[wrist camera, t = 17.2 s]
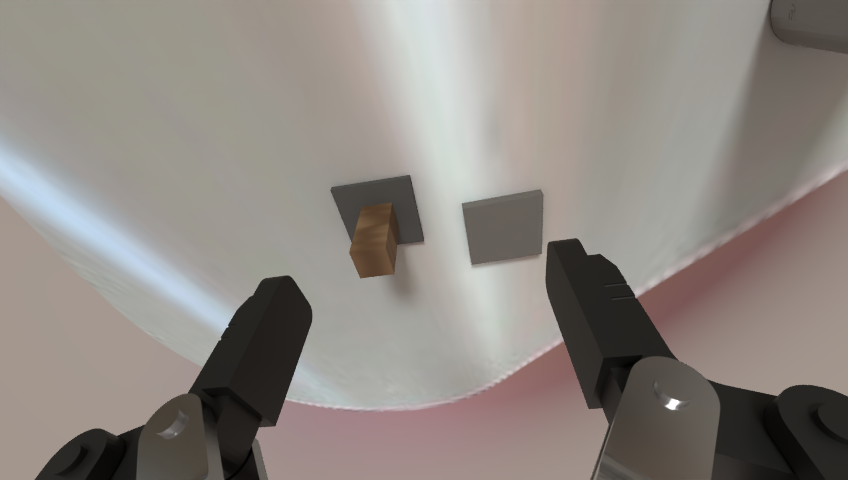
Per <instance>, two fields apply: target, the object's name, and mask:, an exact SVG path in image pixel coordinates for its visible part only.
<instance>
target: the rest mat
mask: <svg viewBox="0 0 848 480" xmlns="http://www.w3.org/2000/svg"><path fill="white" fill-rule="evenodd" d="M331 193H332V195H333V198H334V200H335V202H336V205H337V207H338V210H339V212H340V215H341V217H342V220H343V222H344V225H345V227H346V229H347V232H348V234H349V237H350V239H351V242H352V241H353V237H354V233H355V230H356V226H357V222H358V219H359V215H360V211H361V208H362V207H365V206H371V205H378V204H385V203H391V202H392V205H393V208H394V212H395V215H396V219H397V222H398V226H399V231H398V241H397V245H398V244H406V243H413V242H420V241H424V237H423V233H422V228H421V224H420V219H419V215H418V210H417V206H416V201H415V196H414V192H413V187H412V183H411V178H410V175H407V176H401V177H395V178H388V179H382V180H376V181H369V182H363V183H357V184H350V185H344V186H338V187H332V188H331Z"/></svg>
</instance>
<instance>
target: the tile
mask: <svg viewBox="0 0 848 480" xmlns="http://www.w3.org/2000/svg"><path fill="white" fill-rule="evenodd" d="M462 207H463V213H464V219H465V225H466V232H467V238H468V244H469V250H470V256H471V262H472V265H473V264H480V263H486V262H492V261H499V260H505V259H512V258H518V257H525V256H531V255H537V254H542V226H543V193H542V191H541V190H535V191H529V192H524V193H518V194H512V195H507V196H501V197H495V198H490V199H484V200H479V201H473V202H467V203H462Z"/></svg>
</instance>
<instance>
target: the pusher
mask: <svg viewBox="0 0 848 480" xmlns="http://www.w3.org/2000/svg"><path fill="white" fill-rule="evenodd" d="M398 231H399V226H398V222H397V219H396V215H395V212H394V208H393V205H392V202H391V203H385V204H378V205H371V206H365V207H362V208H361V211H360V215H359V219H358V222H357V226H356V230H355V233H354V237H353V241H352V244H351V248H350V252H349V253H350V255H351V258H352V260H353V262H354V265H355V267H356V269H357V272H358V274H359V276H360V278H366V277H374V276H382V275H390V274H394V271H395V261H396V251H397V241H398Z"/></svg>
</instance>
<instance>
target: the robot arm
mask: <svg viewBox="0 0 848 480" xmlns="http://www.w3.org/2000/svg"><path fill="white" fill-rule="evenodd" d="M771 23H772V28H773V30H774V32H775V34H776V36H777V37H779V38H780V39H781V40H782V41H783V42H786V43H789V44H792V45H798V46H804V47H810V48H815V49H821V50H827V51H833V52H837V53H843V54H848V0H773V2H772V9H771ZM546 289H547V293H548V297H549V300H550V303H551V306H552V309H553V311H554V314H555V317H556V320H557V322H558V325H559V328H560V331H561V334H562V336H563V339H564V342H565V345H566V347H567V350H568V353H569V356H570V358H571V361H572V364H573V367H574V370H575V372H576V375H577V378H578V380H579V383H580V386H581V389H582V392H583V394H584V397H585V400H586V403H587V406H588V408H589V409H596V408H603V410H604V413H605V416H606V418H607V421H608V423H609V425H608V428H607V432H606V434H605V437H604V440H603V443H602V446H601V449H600V452H599V455H598V458H597V461H596V464H595V466H594V469H593V472H592V476H591V478H590V480H848V397H847V396H845V395H843V394H841V393H838V392H836V391H833V390H830V389H826V388H823V387H818V386H813V385H796V386H792V387H789V388H787V389H785V390H784V391H783V392H782V393H781V394H779V395H778V396H774V395H769V394H765V393H760V392H755V391H750V390H745V389H741V388H735V387H731V386H726V385H722V384H719V383H716V382H713V381H710V380H708V379H706V378H704V377H703V376H702V375H701V374H700V373H699V372H697V371H696V370H695V369H693V368H692V367H690V366H688V365H687V364H684V363H683V362H680V361H679V360H678V359H677V358H676V357H675V356H674V355H673V354H672V353H671V351H670V350H669V348H668V346H667V345H666V343H665V342H664V340H663V339H662V337H661V336H660V334H659V332H658V331H657V329H656V328H655V326H654V324H653V323H652V321H651V320H650V318H649V316H648V315H647V313H646V312H645V310H644V309H643V307H642V305H641V304H640V303H639V301H638V299H637V298H635V294H634V293H633V291H632V290H631V288H630V287H629V285H627V283H626V280H625V279H624V277H623V276H622V274H621V272H620V271H619V269H618V268H617V266H616V265H614V264H613V263H612V262H610V261H609V260H607V259H606V258H605V257H603V256H602V255H601V254H596V255H587V253H586V252H585V250H584V248H583V246H582V244H581V243H580V241H579V240H578V239H577V238H574V239H567V240H559V241H552V242H549V243H548V246H547V262H546ZM311 323H312V309H311V306H310V304H309V302H308V301H307V299H306V298H305V296H304V295H303V293H302V292H301V290H300V289H299V287H298V286H297V284H296V283H295V281H294V280H293V278H292V277H290V276H279V277H272V278H265V279H263V280H262V281H261V282H260V284H259V286H258V288H257V289H256V291H255V293H254V295H253V296H250V297H249V298H248V299H247V300H246V301H245V302H244V303H243V304H242V305H241V306H240V308H239V309H238V310H237V311H236V313H235V314H234V316H233V318H232V319H231V321H230V323H229V324H228V326H229V327H228V328H226V330H225V331H224V333H223V335H222V336H221V341H218V343H217V345H216V347H215V348H214V350H213V352H212V353H211V355H210V357H209V359H208V360H207V362H206V364H205V365H204V367H203V369H202V371H201V372H200V374H199V376H198V377H197V379H196V381H195V382H194V384H193V386H192V387H191V389H190V390H189V392H188V393H187V394H182V395H180V396H177V397H175V398H173V399H171V400H170V401H168V402H167V403H165V404H164V405H163V406H162V407H160V408H159V409H158V410H157V411H156V412H155V413H154V414H153V415H152V417H151V418H150V419H149V421H148V422H147V423H146V424H145V425H143V426H141V427H138V428H135V429H133V430H131V431H128V432H126V433H123V434H120V435H118V436H116V435H113V434H111V433H109V432H107V431H105V430H103V429H92V430H89V431H86V432H84V433H82V434H80V435H78V436H77V437H75V438H74V439H72V440H71V441H69V442H68V443H67V444H66V445H64V446H63V447H62V448H61V449H60V450H59V451H58V452H57V453H56V454H55V455H54V456H53V457H52V458H51V459H50V460H49V462H48V463H47V464H46V465H45V467H44V468H43V470H42V471H41V472H40V473H39V475H38V476H37V477H36V479H35V480H268V477H267V473H266V469H265V465H264V461H263V457H262V453H261V449H260V445H259V442H258V440H257V439H256V438H255V436H256V433H257V431H258V428H259V427H270V426H276V423H277V420H278V417H279V414H280V412H281V409H282V406H283V403H284V400H285V397H286V394H287V392H288V389H289V386H290V383H291V380H292V377H293V375H294V372H295V369H296V366H297V363H298V360H299V357H300V355H301V352H302V349H303V346H304V343H305V340H306V337H307V335H308V332H309V329H310V326H311Z"/></svg>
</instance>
